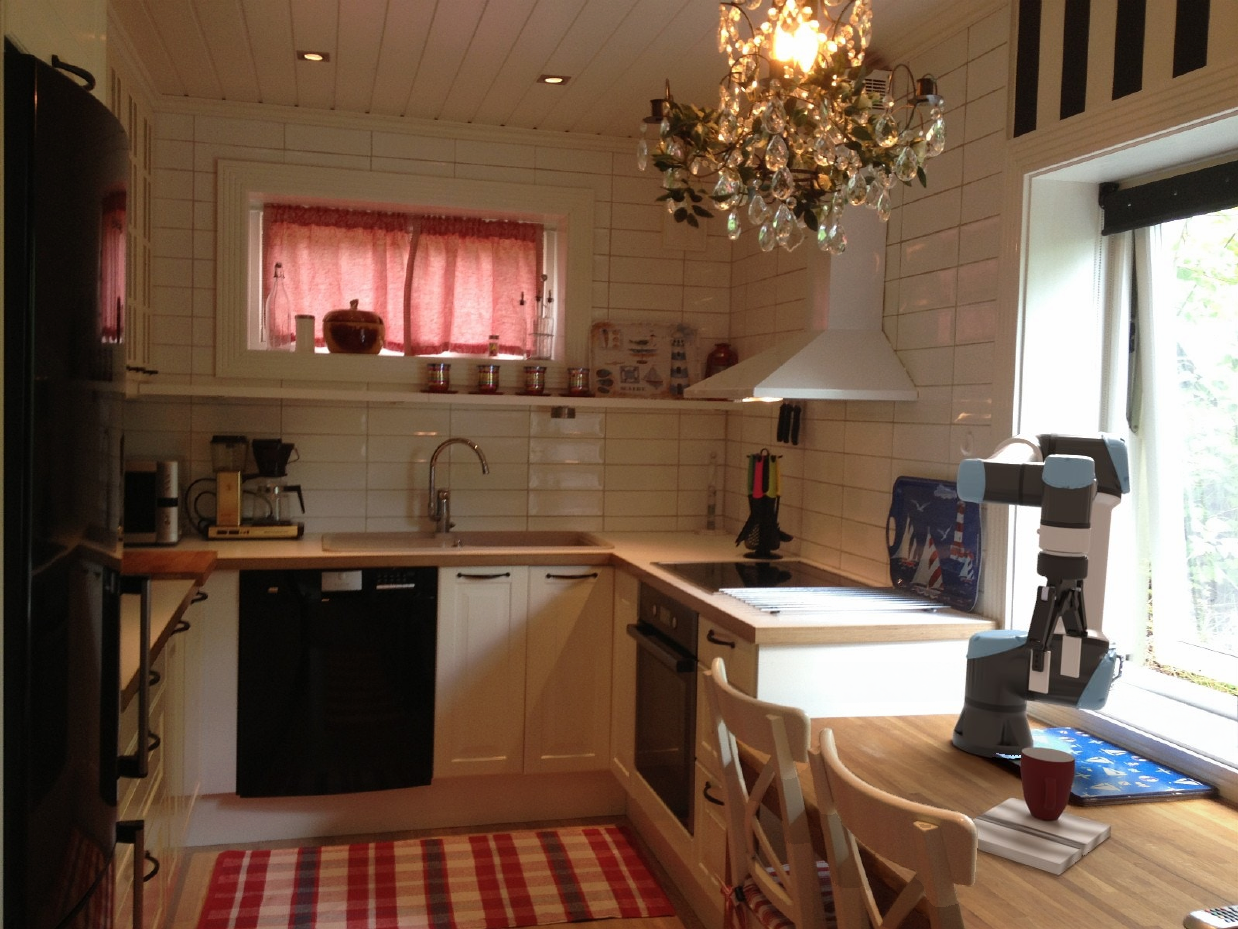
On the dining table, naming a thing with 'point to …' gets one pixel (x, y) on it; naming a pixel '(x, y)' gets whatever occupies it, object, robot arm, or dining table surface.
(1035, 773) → the mug
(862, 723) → the dining table surface
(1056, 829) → the plank
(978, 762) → the dining table surface
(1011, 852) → the laid board
